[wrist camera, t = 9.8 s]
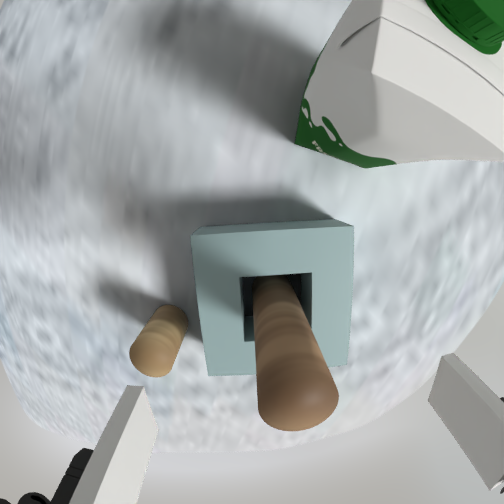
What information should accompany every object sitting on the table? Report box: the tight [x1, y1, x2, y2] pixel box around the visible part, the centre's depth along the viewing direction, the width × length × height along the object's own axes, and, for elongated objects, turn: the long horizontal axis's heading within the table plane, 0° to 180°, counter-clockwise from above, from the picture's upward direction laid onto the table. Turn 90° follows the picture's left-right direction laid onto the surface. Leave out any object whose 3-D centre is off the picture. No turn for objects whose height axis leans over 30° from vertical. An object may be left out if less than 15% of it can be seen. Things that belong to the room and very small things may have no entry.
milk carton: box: [295, 0, 504, 168], centre depth 14 cm, size 9×9×20 cm
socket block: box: [190, 219, 354, 376], centre depth 25 cm, size 12×12×5 cm
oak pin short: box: [129, 305, 188, 377], centre depth 25 cm, size 4×4×7 cm
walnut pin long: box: [252, 274, 339, 431], centre depth 20 cm, size 4×4×16 cm
